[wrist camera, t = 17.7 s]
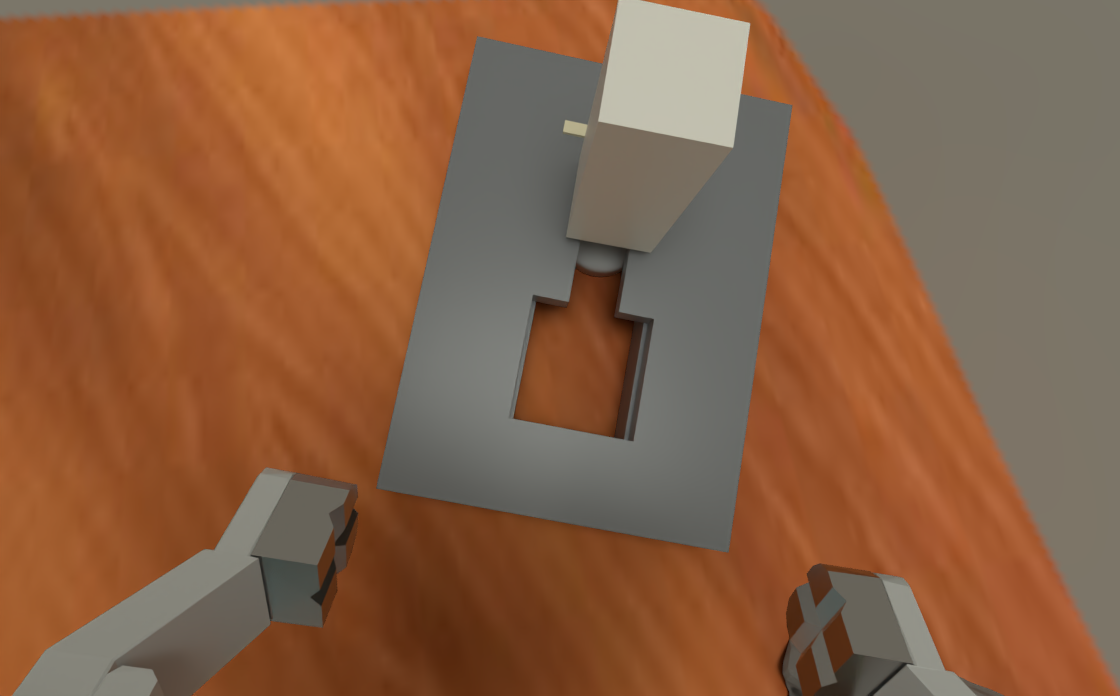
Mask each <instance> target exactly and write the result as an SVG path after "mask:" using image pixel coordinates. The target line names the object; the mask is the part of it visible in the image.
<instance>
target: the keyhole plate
mask: <svg viewBox="0 0 1120 696" xmlns="http://www.w3.org/2000/svg"><path fill="white" fill-rule="evenodd" d="M602 65H603V64H601V63H597V62H592V61H587V60H583V59H578V58H574V57H569V56H565V55H560V54H555V53H551V52H546V51H542V50H537V49H533V48H528V47H523V46H519V45H514V44H510V43H505V42H501V41H496V40H492V39H487V38H482V37H478V36H477V40H476V45H475V49H474V54H473V58H472V63H471V67H470V72H469V76H468V81H467V85H466V90H465V94H464V98H463V103H462V107H461V112H460V116H459V121H458V125H457V130H456V134H455V139H454V143H453V148H452V152H451V157H450V161H449V165H448V170H447V174H446V179H445V183H444V188H443V192H442V197H441V201H440V206H439V210H438V215H437V219H436V224H435V228H434V233H433V237H432V241H431V246H430V250H429V255H428V259H427V264H426V268H425V273H424V277H423V282H422V286H421V291H420V295H419V300H418V304H417V308H416V313H415V317H414V322H413V326H412V331H411V335H410V340H409V344H408V349H407V353H406V358H405V362H404V367H403V371H402V375H401V380H400V384H399V389H398V393H397V398H396V402H395V407H394V411H393V416H392V420H391V425H390V429H389V434H388V438H387V443H386V447H385V451H384V456H383V460H382V465H381V469H380V474H379V478H378V483H377V487H376V488H377V489H382V490H388V491H393V492H399V493H404V494H410V495H415V496H420V497H426V498H431V499H437V500H442V501H448V502H453V503H459V504H464V505H470V506H475V507H481V508H486V509H492V510H497V511H503V512H508V513H514V514H519V515H525V516H530V517H536V518H541V519H547V520H552V521H558V522H563V523H569V524H574V525H580V526H585V527H591V528H596V529H602V530H607V531H613V532H618V533H624V534H629V535H635V536H640V537H646V538H651V539H657V540H662V541H668V542H673V543H679V544H684V545H690V546H695V547H701V548H706V549H712V550H717V551H723V552H729V545H730V538H731V531H732V524H733V517H734V510H735V503H736V496H737V489H738V482H739V475H740V468H741V461H742V454H743V447H744V440H745V433H746V426H747V419H748V412H749V405H750V398H751V391H752V384H753V377H754V370H755V363H756V356H757V349H758V342H759V335H760V328H761V321H762V314H763V307H764V300H765V293H766V286H767V279H768V272H769V265H770V258H771V251H772V244H773V237H774V230H775V223H776V216H777V209H778V202H779V195H780V188H781V181H782V174H783V167H784V160H785V153H786V146H787V139H788V132H789V125H790V118H791V111H792V105H788V104H784V103H779V102H775V101H770V100H766V99H761V98H756V97H752V96H747V95H743V94H741V95H740V102H739V109H738V117H737V124H736V131H735V139H734V146H733V149H732V150H731V151H730V153H729V154H728V155H727V156H726V158H725V159H724V160H723V162H722V163H721V164H720V165H719V167H718V168H717V169H716V170H715V172H714V173H713V174H712V176H711V177H710V178H709V179H708V181H707V182H706V183H705V184H704V186H703V187H702V188H701V190H700V191H699V192H698V193H697V195H696V196H695V197H694V198H693V200H692V201H691V202H690V204H689V205H688V206H687V207H686V209H685V210H684V211H683V212H682V214H681V215H680V216H679V218H678V219H677V220H676V221H675V223H674V224H673V225H672V226H671V228H670V229H669V230H668V232H667V233H666V234H665V235H664V237H663V238H662V239H661V241H660V242H659V243H658V244H657V246H656V247H655V248H654V249H653V251H652V252H651V253H649V252H643V251H638V250H633V249H627V248H626V253H625V259H624V264H623V270H622V276H621V281H620V287H619V292H618V298H617V304H616V309H615V315H614V317H616V318H621V319H626V320H631V321H634V326H633V332H632V338H631V343H630V349H629V355H628V361H627V367H626V372H625V378H624V384H623V390H622V396H621V401H620V407H619V413H618V419H617V425H616V430H615V436H614V438H612V437H607V436H602V435H597V434H591V433H586V432H581V431H575V430H570V429H565V428H560V427H554V426H549V425H544V424H539V423H533V422H528V421H523V420H517V419H513V418H514V412H515V407H516V402H517V397H518V392H519V387H520V382H521V377H522V372H523V367H524V361H525V356H526V351H527V346H528V341H529V336H530V331H531V326H532V321H533V316H534V310H535V305H536V302H540V303H545V304H551V305H556V306H561V307H567V305H568V302H569V298H570V292H571V287H572V282H573V277H574V271H575V266H576V261H577V255H578V250H579V245H580V240H579V239H573V238H568V237H566V234H567V228H568V222H569V217H570V211H571V205H572V199H573V193H574V187H575V182H576V176H577V170H578V164H579V158H580V154H581V150H582V145H583V141H584V137H585V133H586V129H587V125H588V121H589V117H590V113H591V109H592V105H593V101H594V97H595V93H596V89H597V85H598V81H599V77H600V73H601V69H602Z"/></svg>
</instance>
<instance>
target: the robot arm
mask: <svg viewBox="0 0 1120 696" xmlns="http://www.w3.org/2000/svg"><path fill="white" fill-rule="evenodd" d="M357 498H358V492H357V485H356V484H351V483H346V482H341V481H336V480H331V479H326V478H320V477H315V476H310V475H305V474H300V473H295V472H290V471H284V470H278V469H273V468H267V467H266V468H265V469H264V470H263V471H262V472H261V473H260V474H259V475H258V476H257V478H256V480H255V481H254V483H253V485H252V487H251V488H250V490H249V492H248V493H247V495H246V497H245V498H244V500H243V502H242V503H241V505H240V507H239V509H238V510H237V512H236V514H235V515H234V517H233V519H232V520H231V522H230V524H229V525H228V527H227V529H226V531H225V532H224V534H223V536H222V537H221V539H220V541H219V542H218V544H217V546H216V547H215V549H214V550H210V549H204V550H202V551H200V552H199V553H197V554H196V555H194V556H193V557H191V558H189V559H188V560H186V561H185V562H183V563H182V564H180V565H178V566H177V567H175V568H174V569H172V570H171V571H169V572H167V573H166V574H164V575H163V576H161V577H160V578H158V579H156V580H155V581H153V582H152V583H150V584H149V585H147V586H145V587H144V588H142V589H141V590H139V591H138V592H136V593H134V594H133V595H131V596H130V597H128V598H127V599H125V600H123V601H122V602H120V603H119V604H117V605H116V606H114V607H112V608H111V609H109V610H108V611H106V612H105V613H103V614H101V615H100V616H98V617H97V618H95V619H94V620H92V621H90V622H89V623H87V624H86V625H84V626H83V627H81V628H79V629H78V630H76V631H75V632H73V633H72V634H70V635H68V636H67V637H65V638H64V639H62V640H61V641H59V642H57V643H56V644H54V645H53V646H51V647H50V648H48V649H46V650H45V652H44V653H43V654H42V656H41V657H40V658H39V660H38V661H37V662H36V664H35V665H34V667H33V668H32V669H31V671H30V672H29V673H28V675H27V676H26V677H25V679H24V680H23V682H22V683H21V684H20V686H19V687H18V688H17V690H16V691H15V692H14V694H13V695H12V696H191V695H192V694H193V693H194V692H196V691H197V690H198V689H199V688H200V687H201V686H202V685H203V684H205V683H206V682H207V681H208V680H209V679H210V678H211V677H212V676H213V675H215V674H216V673H217V672H218V671H219V670H220V669H221V668H222V667H224V666H225V665H226V664H227V663H228V662H229V661H230V660H231V659H232V658H234V657H235V656H236V655H237V654H238V653H239V652H240V651H241V650H243V649H244V648H245V647H246V646H247V645H248V644H249V643H250V642H251V641H253V640H254V639H255V638H256V637H257V636H258V635H259V634H260V633H261V632H263V631H264V630H265V629H266V628H267V627H268V626H269V625H270V624H271V622H270V621H276V622H283V623H291V624H298V625H306V626H314V627H321V628H323V626H324V624H325V621H326V619H327V616H328V613H329V611H330V608H331V606H332V603H333V601H334V598H335V596H336V593H337V574H338V573H339V572H340V571H342V570H343V569H344V568H346V567H347V564H348V561H349V559H350V556H351V553H352V550H353V546H354V542H355V539H356V535H357V527H358V513H357V512H356V511H355V509H354V505H355V503H356V500H357ZM807 577H808V581H809V583H806V584H804V585H802V586H799V587H797V588H796V589H795V590H794V592H793V593H792V595H791V596H790V598H789V601H788V606H787V611H786V621H787V629H788V634H789V639H790V641H791V642H792V643H793V645H794V646H795V647H796V648H797V650H798V651H799V652H800V653H801V655H800V657H799V659H798V661H797V663H796V669H797V673H798V678H799V682H800V686H801V690H802V694H803V696H976V695H975V694H974V693H973V692H972V691H971V690H970V689H969V688H968V686H967V685H966V684H965V683H964V682H963V681H962V680H961V679H960V678H959V677H958V676H957V675H956V674H955V673H954V672H951V671H946V670H945V669H944V666H943V664H942V661H941V659H940V657H939V654H938V652H937V650H936V647H935V645H934V643H933V640H932V638H931V635H930V633H929V631H928V628H927V626H926V624H925V621H924V619H923V617H922V614H921V612H920V609H919V607H918V605H917V602H916V600H915V598H914V595H913V593H912V590H911V588H910V586H909V584H908V583H907V582H906V581H905V580H904V579H903V578H901V577H897V576H891V575H885V574H878V573H872V572H871V571H865V570H859V569H852V568H846V567H839V566H833V565H827V564H817V565H814V566H812V568H811V569H810V570H809V571H808V573H807Z"/></svg>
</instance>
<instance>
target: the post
mask: <svg viewBox="0 0 1120 696" xmlns="http://www.w3.org/2000/svg"><path fill="white" fill-rule="evenodd" d="M749 28H750V23H747V22H742V21H737V20H732V19H728V18H723V17H718V16H713V15H708V14H703V13H699V12H694V11H689V10H684V9H679V8H674V7H670V6H665V5H660V4H655V3H650V2H645V1H641V0H618V4H617V8H616V12H615V16H614V20H613V24H612V28H611V32H610V36H609V40H608V44H607V48H606V52H605V56H604V61H603V65H602V69H601V73H600V77H599V81H598V85H597V89H596V93H595V97H594V101H593V105H592V109H591V113H590V117H589V121H588V125H587V129H586V133H585V137H584V141H583V145H582V150H581V154H580V158H579V164H578V170H577V176H576V182H575V187H574V193H573V199H572V205H571V211H570V217H569V222H568V228H567V234H566V237H568V238H573V239H579V240H580V245H579V250H578V255H577V261H576V266H575V268H576V269H577V270H579V271H581V272H582V273H585V274H587V275H590V276H595V277H606V276H611V275H615V274H617V273H619V272H621V271H622V270H623V264H624V259H625V253H626V248H627V249H633V250H638V251H643V252H649V253H651V252H652V251H653V249H654V248H655V247H656V246H657V244H658V243H659V242H660V241H661V239H662V238H663V237H664V235H665V234H666V233H667V232H668V230H669V229H670V228H671V226H672V225H673V224H674V223H675V221H676V220H677V219H678V218H679V216H680V215H681V214H682V212H683V211H684V210H685V209H686V207H687V206H688V205H689V204H690V202H691V201H692V200H693V198H694V197H695V196H696V195H697V193H698V192H699V191H700V190H701V188H702V187H703V186H704V184H705V183H706V182H707V181H708V179H709V178H710V177H711V176H712V174H713V173H714V172H715V170H716V169H717V168H718V167H719V165H720V164H721V163H722V162H723V160H724V159H725V158H726V156H727V155H728V154H729V153H730V151H731V150H732V149H733V146H734V139H735V131H736V124H737V117H738V109H739V102H740V95H741V87H742V80H743V72H744V65H745V58H746V50H747V43H748V36H749Z"/></svg>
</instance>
